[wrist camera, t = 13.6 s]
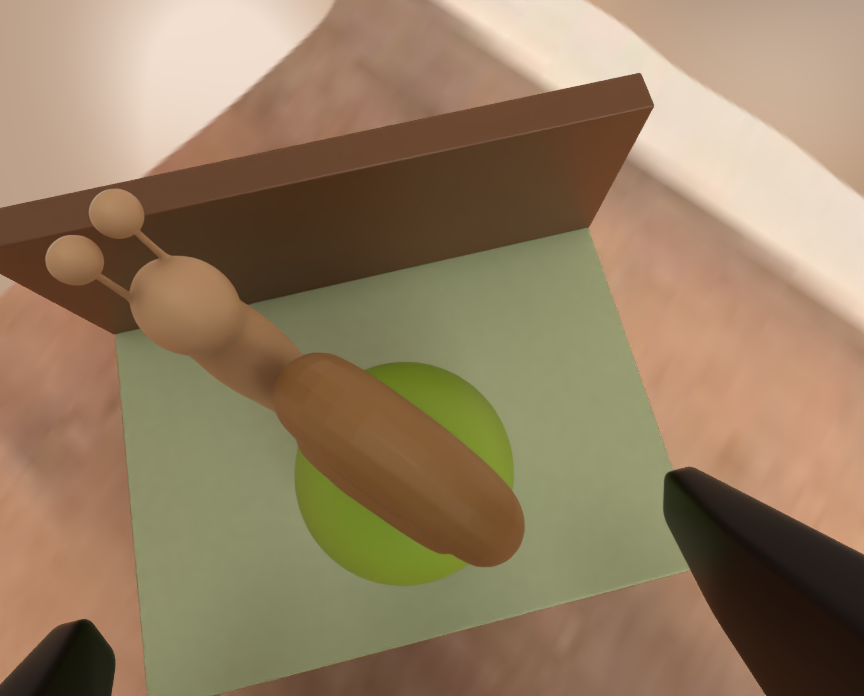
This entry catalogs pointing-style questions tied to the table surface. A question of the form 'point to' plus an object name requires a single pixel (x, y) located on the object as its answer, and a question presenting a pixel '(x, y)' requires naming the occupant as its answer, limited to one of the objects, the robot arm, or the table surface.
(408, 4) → the table surface
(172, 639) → the bench with backrest
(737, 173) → the table surface
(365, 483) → the snail figurine
